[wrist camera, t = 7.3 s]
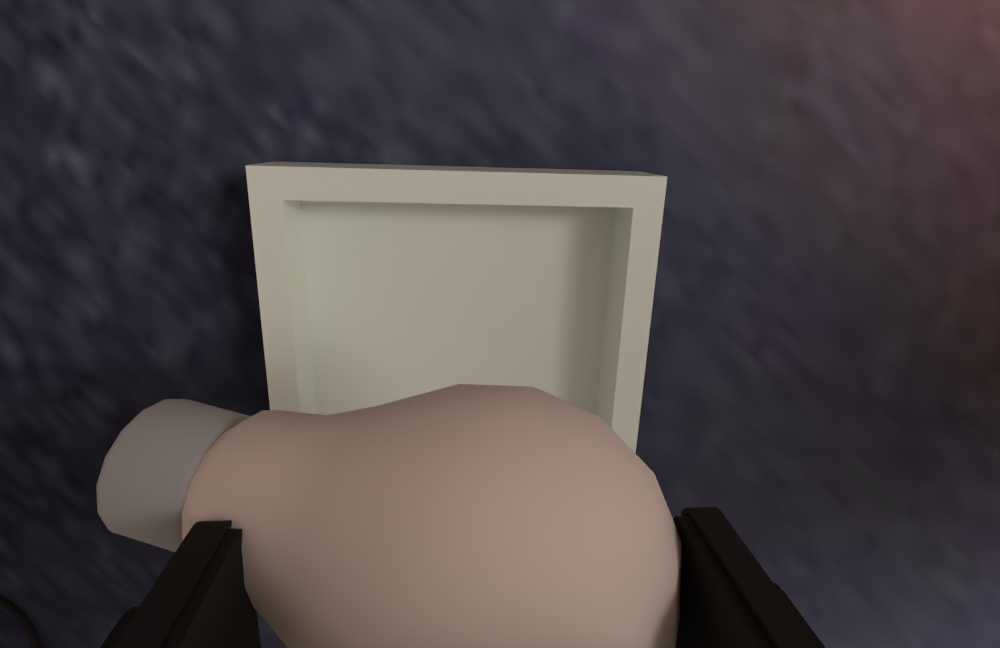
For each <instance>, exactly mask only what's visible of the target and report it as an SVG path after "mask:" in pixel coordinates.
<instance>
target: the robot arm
mask: <svg viewBox="0 0 1000 648" xmlns="http://www.w3.org/2000/svg"><path fill="white" fill-rule="evenodd" d="M673 521H674V524H675V526H676V529H677V531H678V534H679V536H680V539H681V542H682V558H681V596H680V622H679V628H678V635H677V642H676V648H825V647H824V645H823V644H822V643H821V641H820V640H819V639H818V637H817V636H816V635H815V633H814V632H813V630H812V629H811V628H810V626H809V625H808V624H807V622H806V621H805V620H804V618H803V617H802V616H801V614H800V613H799V611H798V610H797V609H796V607H795V606H794V605H793V603H792V602H791V601H790V599H789V598H788V597H787V595H786V594H785V592H784V591H783V590H782V589H781V588H780V587H779V586H778V585H777V584H775V583H773V582H772V581H771V580H770V578H769V577H768V575H767V574H766V573H765V571H764V570H763V569H762V567H761V566H760V564H759V563H758V562H757V560H756V559H755V558H754V556H753V555H752V553H751V552H750V551H749V549H748V548H747V547H746V545H745V544H744V542H743V541H742V540H741V538H740V537H739V536H738V534H737V533H736V531H735V530H734V529H733V527H732V526H731V525H730V523H729V522H728V520H727V519H726V518H725V516H724V515H723V514H722V512H721V511H720V510H719V509H718V508H716V507H700V508H685V509H684V510H683V512H682V515H681V516H676V517H675V518H674V519H673ZM231 525H232V520H223V521H198V522H196V523H195V524H194V525H193V526H192V528H191V529H190V531H189V532H188V534H187V535H186V537H185V538H184V540H183V541H182V543H181V544H180V546H179V547H178V549H177V550H176V552H175V554H174V555H173V557H172V558H171V560H170V561H169V563H168V564H167V566H166V567H165V569H164V570H163V572H162V573H161V575H160V576H159V578H158V579H157V581H156V582H155V584H154V586H153V587H152V589H151V590H150V592H149V593H148V595H147V596H146V598H145V599H144V601H143V602H142V604H141V605H140V607H133V608H131V609H129V610H128V611H126V612H125V614H124V615H123V616H122V617H121V618H120V620H119V621H118V622H117V624H116V625H115V627H114V628H113V630H112V631H111V633H110V634H109V636H108V637H107V639H106V640H105V642H104V643H103V644H102V646H101V647H100V648H261V645H260V637H259V629H258V621H257V613H256V610H255V609H254V607H253V605H252V603H251V601H250V598H249V596H248V594H247V591H246V589H245V585H244V571H243V559H242V549H241V547H242V529H228V528H229V527H231Z"/></svg>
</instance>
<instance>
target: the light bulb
mask: <svg viewBox="0 0 1000 648" xmlns="http://www.w3.org/2000/svg"><path fill="white" fill-rule="evenodd" d="M96 489H97V511H98V514H99V516H100V517H101V519H102V521H103V522H104V524H105V525H106V527H107V528H108V530H109V531H111V532H113V533H116V534H120V535H123V536H126V537H129V538H132V539H135V540H138V541H142V542H145V543H148V544H151V545H154V546H157V547H161V548H164V549H167V550H170V551H173V552H176V550H177V549H178V547H179V546H180V544H181V543H182V541H183V540H184V538H185V537H186V535H187V534H188V532H189V531H190V529H191V528H192V526H193V525H194V524H195V523H196V522H198V521H223V520H232V525H231V527H229V528H228V529H242V547H241V549H242V559H243V571H244V585H245V589H246V591H247V594H248V596H249V598H250V601H251V603H252V605H253V607H254V609H255V610H256V611H257V612H258V613H259V615H260V616H261V617H262V618H263V619H264V620H265V621H266V623H267V624H268V625H269V626H270V627H271V628H272V629H273V631H274V632H275V633H276V634H277V635H278V636H279V637H280V639H281V640H282V641H283V642H284V643H285V644H286V645H287V647H288V648H676V642H677V635H678V628H679V622H680V596H681V558H682V542H681V539H680V536H679V534H678V531H677V529H676V526H675V524H674V521H673V519H672V516H671V514H670V511H669V509H668V506H667V504H666V501H665V499H664V496H663V494H662V491H661V489H660V486H659V484H658V481H657V479H656V476H655V474H654V473H653V472H652V471H651V470H650V468H649V467H648V466H647V465H646V464H645V463H644V462H643V461H642V460H641V459H640V458H639V457H638V456H637V455H636V454H635V453H634V452H633V451H632V449H631V448H630V447H629V446H628V445H627V444H626V443H625V442H624V441H623V440H622V439H621V438H620V437H619V436H618V435H617V434H616V433H615V432H614V431H613V429H612V428H611V427H610V426H609V425H608V424H607V423H606V422H605V421H604V420H603V419H602V418H600V417H599V416H597V415H595V414H593V413H591V412H589V411H586V410H584V409H582V408H580V407H578V406H575V405H573V404H571V403H569V402H567V401H564V400H562V399H560V398H558V397H555V396H553V395H551V394H549V393H547V392H544V391H542V390H540V389H538V388H535V387H532V386H503V385H475V384H456V385H453V386H449V387H445V388H442V389H438V390H434V391H430V392H427V393H423V394H419V395H416V396H412V397H408V398H404V399H401V400H397V401H393V402H390V403H386V404H382V405H378V406H373V407H368V408H363V409H357V410H352V411H347V412H341V413H336V414H331V415H320V414H311V413H302V412H293V411H285V410H262V411H260V412H259V413H257V414H255V415H253V416H248V415H244V414H241V413H237V412H233V411H229V410H226V409H222V408H218V407H214V406H211V405H207V404H203V403H200V402H196V401H192V400H188V399H164V400H162V401H160V402H158V403H156V404H154V405H152V406H150V407H148V408H146V409H144V410H142V411H141V412H140V413H139V414H138V415H137V416H136V417H135V418H134V419H133V420H132V421H131V422H130V423H129V424H128V425H127V426H126V427H125V428H124V429H123V430H122V431H121V432H120V434H119V435H118V437H117V438H116V440H115V442H114V443H113V445H112V447H111V448H110V450H109V452H108V453H107V455H106V456H105V459H104V462H103V465H102V469H101V472H100V475H99V479H98V482H97V485H96Z"/></svg>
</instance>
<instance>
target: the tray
mask: <svg viewBox="0 0 1000 648" xmlns="http://www.w3.org/2000/svg"><path fill="white" fill-rule="evenodd" d="M245 167H246V177H247V186H248V196H249V206H250V216H251V226H252V236H253V246H254V256H255V266H256V275H257V285H258V295H259V305H260V315H261V325H262V335H263V345H264V355H265V365H266V374H267V384H268V394H269V404H270V410H285V411H293V412H302V413H311V414H320V415H331V414H336V413H341V412H347V411H352V410H357V409H363V408H368V407H373V406H378V405H382V404H386V403H390V402H393V401H397V400H401V399H404V398H408V397H412V396H416V395H419V394H423V393H427V392H430V391H434V390H438V389H442V388H445V387H449V386H453V385H456V384H475V385H503V386H532V387H535V388H538V389H540V390H542V391H544V392H547V393H549V394H551V395H553V396H555V397H558V398H560V399H562V400H564V401H567V402H569V403H571V404H573V405H575V406H578V407H580V408H582V409H584V410H586V411H589V412H591V413H593V414H595V415H597V416H599V417H600V418H602V419H603V420H604V421H605V422H606V423H607V424H608V425H609V426H610V427H611V428H612V429H613V431H614V432H615V433H616V434H617V435H618V436H619V437H620V438H621V439H622V440H623V441H624V442H625V443H626V444H627V445H628V446H629V447H630V448H631V449H632V451H633V452H634V453H636V444H637V436H638V427H639V418H640V410H641V401H642V392H643V384H644V375H645V366H646V358H647V349H648V340H649V331H650V323H651V314H652V305H653V297H654V288H655V279H656V271H657V262H658V253H659V245H660V236H661V227H662V219H663V210H664V201H665V192H666V184H667V176H661V175H656V174H651V173H645V172H640V171H611V170H575V169H538V168H501V167H464V166H427V165H391V164H354V163H317V162H280V161H273V162H266V163H259V164H252V165H245Z"/></svg>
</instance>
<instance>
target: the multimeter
mask: <svg viewBox="0 0 1000 648" xmlns="http://www.w3.org/2000/svg"><path fill="white" fill-rule="evenodd" d="M0 606H2V607H3V608H5V609H6V610H8V611H9V612H10V613H11V614H13V615H14V616H15V617H16V618H17V619H18V621H19V622H20V623H21V625H22V626H23V628H24V629H25V631H26V633H27V635H28V637H29V639H30V641H31V644H32V647H33V648H41V647H40V644H39V640H38V638H37V636H36V634H35V632H34V629H33V627H32V626H31V624H30V622H29V621H28V619H27V618H26V617H25V616H24V614H23V613H22V612H21V611H20V610H18V609H17V608H16V607H15V606H14V605H12V604H11V603H9V602H8V601H6V600H5V599H3V598H1V597H0Z"/></svg>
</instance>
